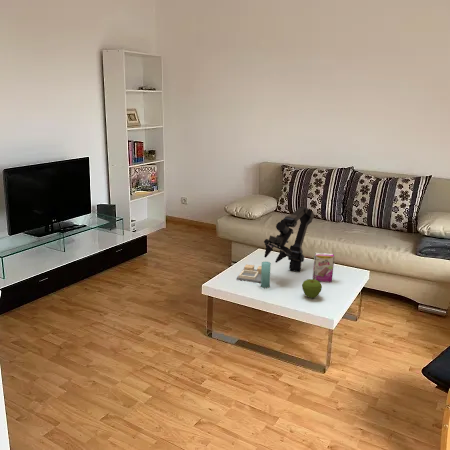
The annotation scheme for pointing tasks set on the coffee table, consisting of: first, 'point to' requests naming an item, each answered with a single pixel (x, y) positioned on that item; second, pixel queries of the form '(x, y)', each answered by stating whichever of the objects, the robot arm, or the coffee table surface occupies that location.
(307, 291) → the apple
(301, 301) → the coffee table surface
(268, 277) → the teal column
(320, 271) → the candy bar box
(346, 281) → the coffee table surface
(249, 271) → the base board
